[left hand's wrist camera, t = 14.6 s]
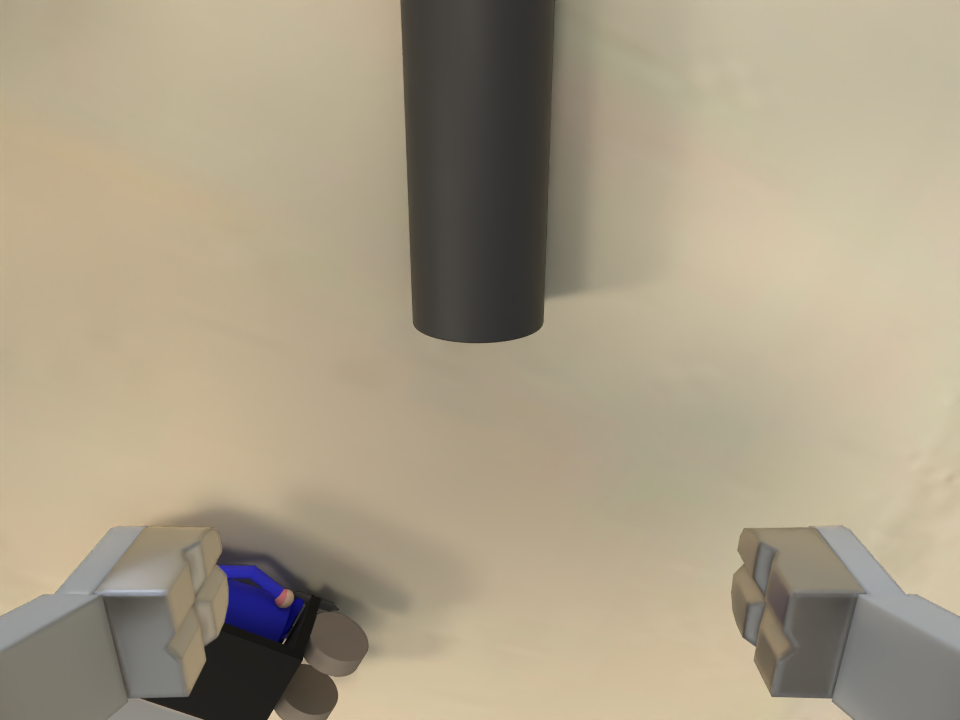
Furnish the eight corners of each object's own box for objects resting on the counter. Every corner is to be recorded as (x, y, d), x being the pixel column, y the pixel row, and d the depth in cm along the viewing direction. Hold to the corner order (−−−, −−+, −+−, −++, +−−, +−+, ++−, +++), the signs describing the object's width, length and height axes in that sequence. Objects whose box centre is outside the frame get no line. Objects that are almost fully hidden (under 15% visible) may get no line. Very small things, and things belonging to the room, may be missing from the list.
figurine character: (378, 577, 43) (135, 494, 38) (373, 678, 36) (76, 591, 32) (334, 650, 45) (100, 579, 41) (321, 758, 38) (38, 687, 34)
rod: (537, 303, 35) (549, 343, 29) (418, 303, 35) (407, 343, 29) (554, -237, 27) (575, -327, 21) (399, -237, 27) (378, -327, 21)
